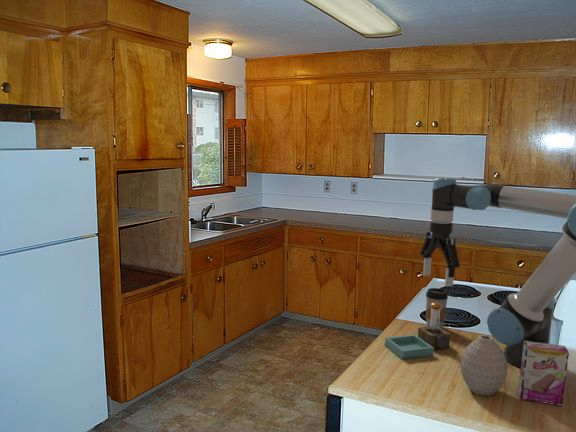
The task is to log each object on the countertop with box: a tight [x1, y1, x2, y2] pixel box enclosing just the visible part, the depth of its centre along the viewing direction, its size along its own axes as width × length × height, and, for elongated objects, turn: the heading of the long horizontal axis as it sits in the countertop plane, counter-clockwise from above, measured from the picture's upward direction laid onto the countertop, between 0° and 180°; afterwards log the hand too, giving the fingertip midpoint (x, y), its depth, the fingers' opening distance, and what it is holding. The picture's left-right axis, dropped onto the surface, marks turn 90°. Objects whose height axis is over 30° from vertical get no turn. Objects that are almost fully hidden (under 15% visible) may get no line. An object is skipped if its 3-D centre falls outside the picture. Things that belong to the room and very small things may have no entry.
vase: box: [460, 334, 508, 397], centre depth 150 cm, size 13×13×17 cm
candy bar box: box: [517, 341, 570, 405], centre depth 146 cm, size 11×5×16 cm, turn 74°
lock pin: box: [429, 302, 442, 334], centre depth 184 cm, size 4×4×15 cm
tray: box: [384, 334, 435, 361], centre depth 178 cm, size 12×12×3 cm
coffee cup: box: [425, 287, 449, 329], centre depth 200 cm, size 8×8×15 cm
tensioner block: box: [417, 326, 451, 350], centre depth 184 cm, size 10×8×5 cm
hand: (437, 280), depth 182 cm, fingers open, 13 cm apart
